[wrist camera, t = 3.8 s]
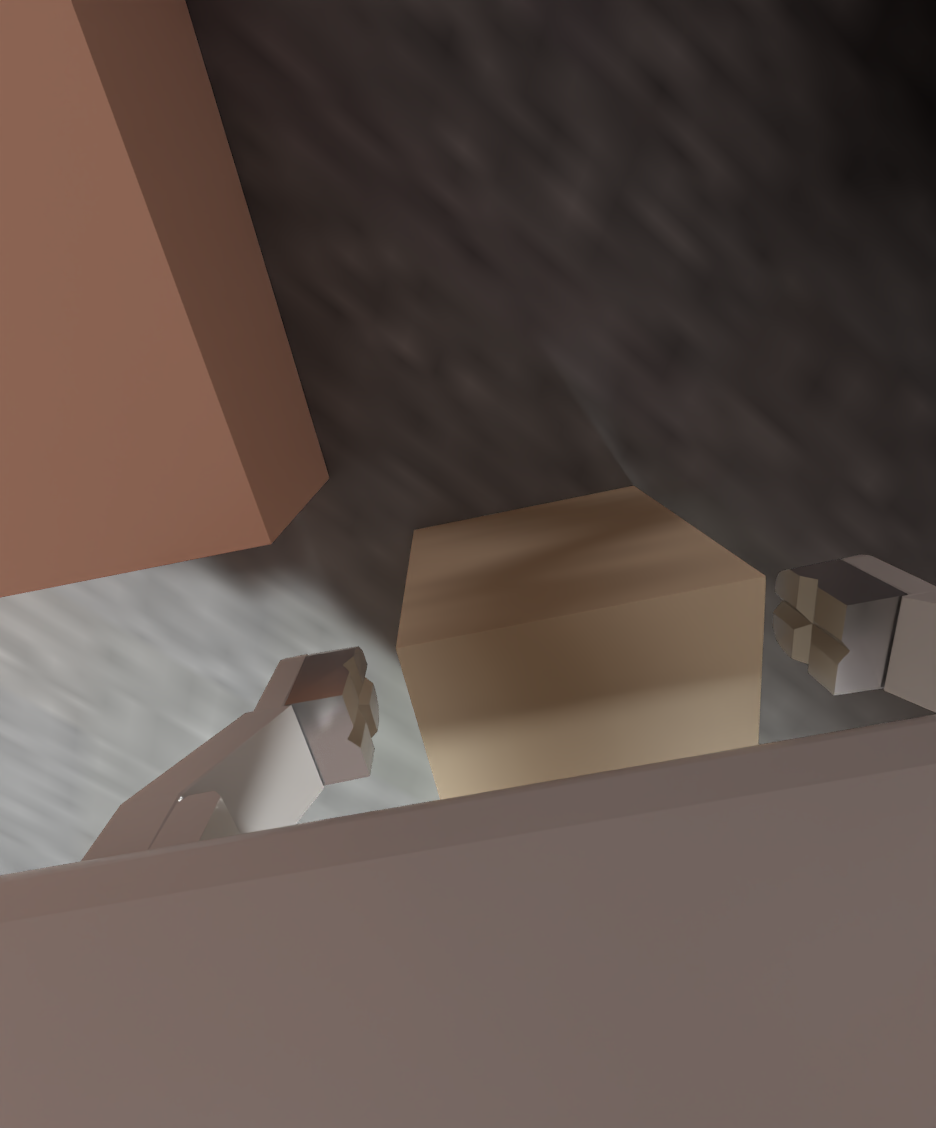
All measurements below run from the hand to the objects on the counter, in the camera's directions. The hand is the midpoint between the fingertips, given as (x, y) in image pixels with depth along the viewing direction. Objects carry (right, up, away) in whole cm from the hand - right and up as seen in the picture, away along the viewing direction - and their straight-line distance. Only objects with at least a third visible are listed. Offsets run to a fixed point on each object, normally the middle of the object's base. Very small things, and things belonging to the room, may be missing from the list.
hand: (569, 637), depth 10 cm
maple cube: (0, 0, +2) cm, 2 cm away
